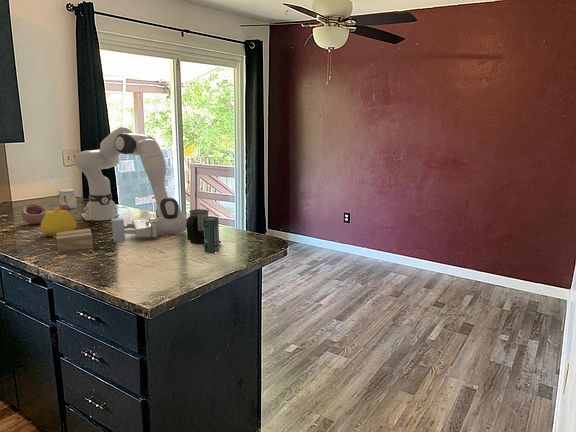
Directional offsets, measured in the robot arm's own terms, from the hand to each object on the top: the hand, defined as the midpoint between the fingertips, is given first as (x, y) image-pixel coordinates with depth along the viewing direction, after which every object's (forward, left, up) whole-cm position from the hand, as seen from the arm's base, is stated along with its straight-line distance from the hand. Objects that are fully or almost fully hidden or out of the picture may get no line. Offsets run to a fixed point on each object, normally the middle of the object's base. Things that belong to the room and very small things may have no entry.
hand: (123, 229), depth 207 cm
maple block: (-4, -21, -5) cm, 22 cm away
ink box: (-92, +5, -5) cm, 92 cm away
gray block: (-1, -2, -5) cm, 5 cm away
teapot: (-31, -20, -5) cm, 37 cm away
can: (+44, +20, -5) cm, 49 cm away
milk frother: (+32, +25, -5) cm, 41 cm away
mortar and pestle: (-61, -22, -5) cm, 65 cm away
